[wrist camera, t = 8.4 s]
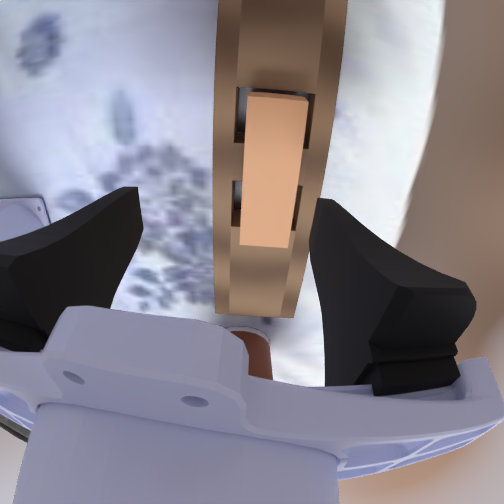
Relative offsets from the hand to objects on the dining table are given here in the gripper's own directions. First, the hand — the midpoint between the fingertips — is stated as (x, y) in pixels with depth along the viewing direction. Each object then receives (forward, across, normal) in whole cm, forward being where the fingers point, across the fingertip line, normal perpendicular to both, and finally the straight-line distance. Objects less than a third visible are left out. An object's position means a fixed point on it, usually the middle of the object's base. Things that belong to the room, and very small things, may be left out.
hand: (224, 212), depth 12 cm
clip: (+10, -2, +1) cm, 10 cm away
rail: (+10, -2, +1) cm, 10 cm away
